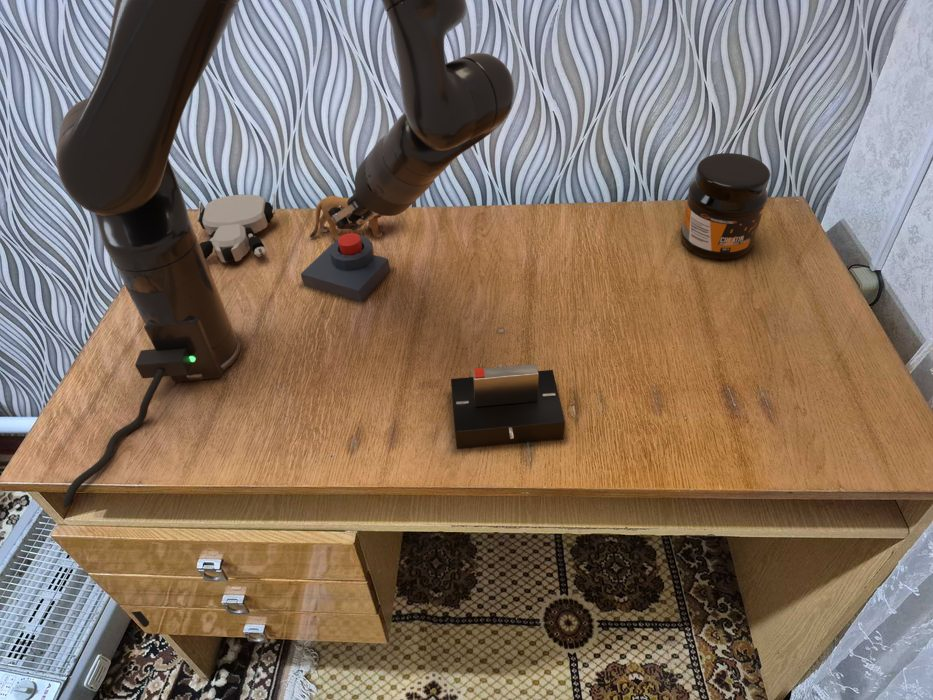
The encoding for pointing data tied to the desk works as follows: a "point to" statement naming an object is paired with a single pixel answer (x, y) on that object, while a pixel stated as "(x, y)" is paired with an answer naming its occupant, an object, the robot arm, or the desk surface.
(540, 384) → the panel
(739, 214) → the supplement container
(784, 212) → the desk surface
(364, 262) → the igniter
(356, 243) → the button
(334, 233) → the lion figurine
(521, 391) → the knob
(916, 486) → the desk surface
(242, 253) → the robot toy
